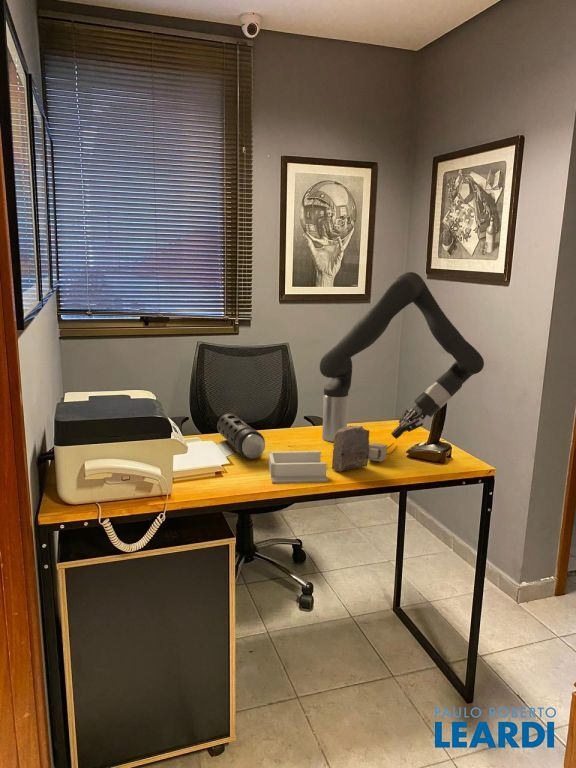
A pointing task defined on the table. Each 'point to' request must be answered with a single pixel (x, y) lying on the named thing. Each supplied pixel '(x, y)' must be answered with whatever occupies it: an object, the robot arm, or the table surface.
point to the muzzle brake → (241, 436)
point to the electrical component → (378, 452)
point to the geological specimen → (350, 448)
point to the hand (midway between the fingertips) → (393, 436)
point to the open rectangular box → (296, 467)
